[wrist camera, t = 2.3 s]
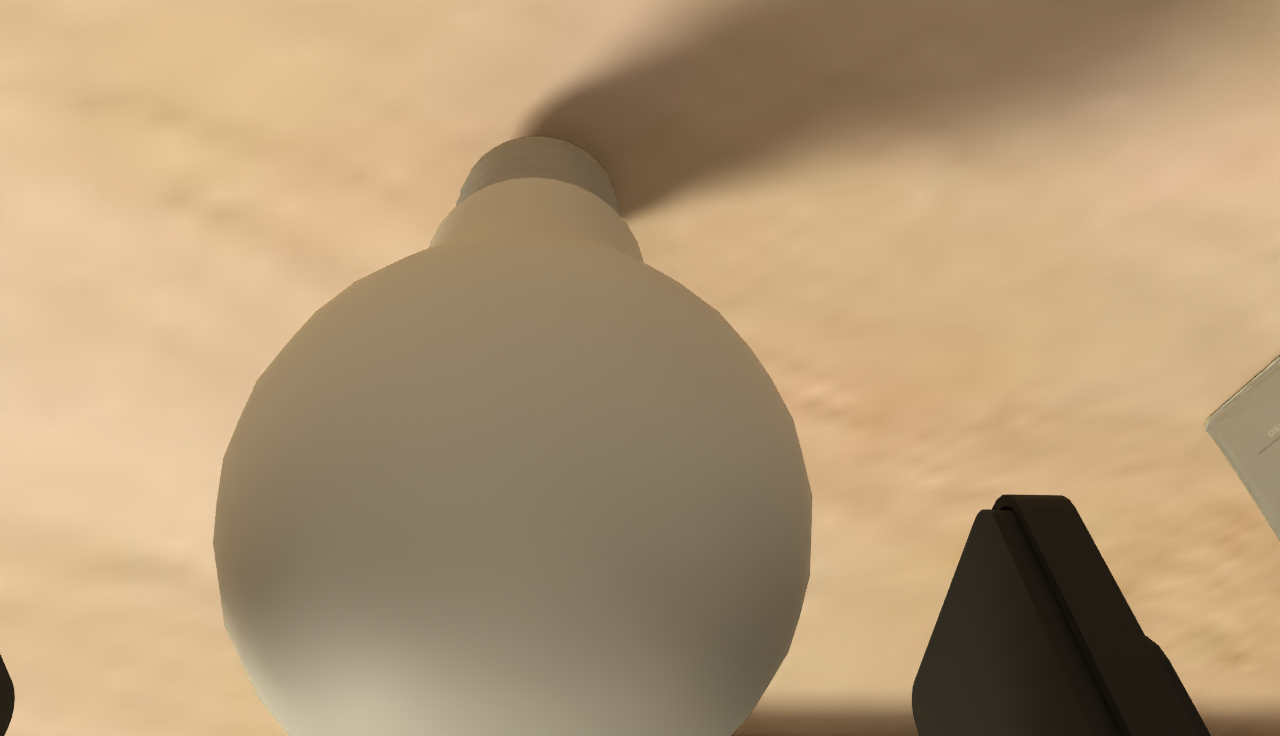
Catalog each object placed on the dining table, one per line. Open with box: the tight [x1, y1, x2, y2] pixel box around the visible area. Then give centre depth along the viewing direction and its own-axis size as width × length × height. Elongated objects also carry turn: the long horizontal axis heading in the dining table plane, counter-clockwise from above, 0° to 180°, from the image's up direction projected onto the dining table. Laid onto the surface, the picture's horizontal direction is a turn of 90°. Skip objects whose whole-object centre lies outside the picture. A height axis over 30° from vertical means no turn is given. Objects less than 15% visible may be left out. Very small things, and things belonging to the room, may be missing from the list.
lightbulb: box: [213, 136, 812, 736], centre depth 13 cm, size 6×6×11 cm
